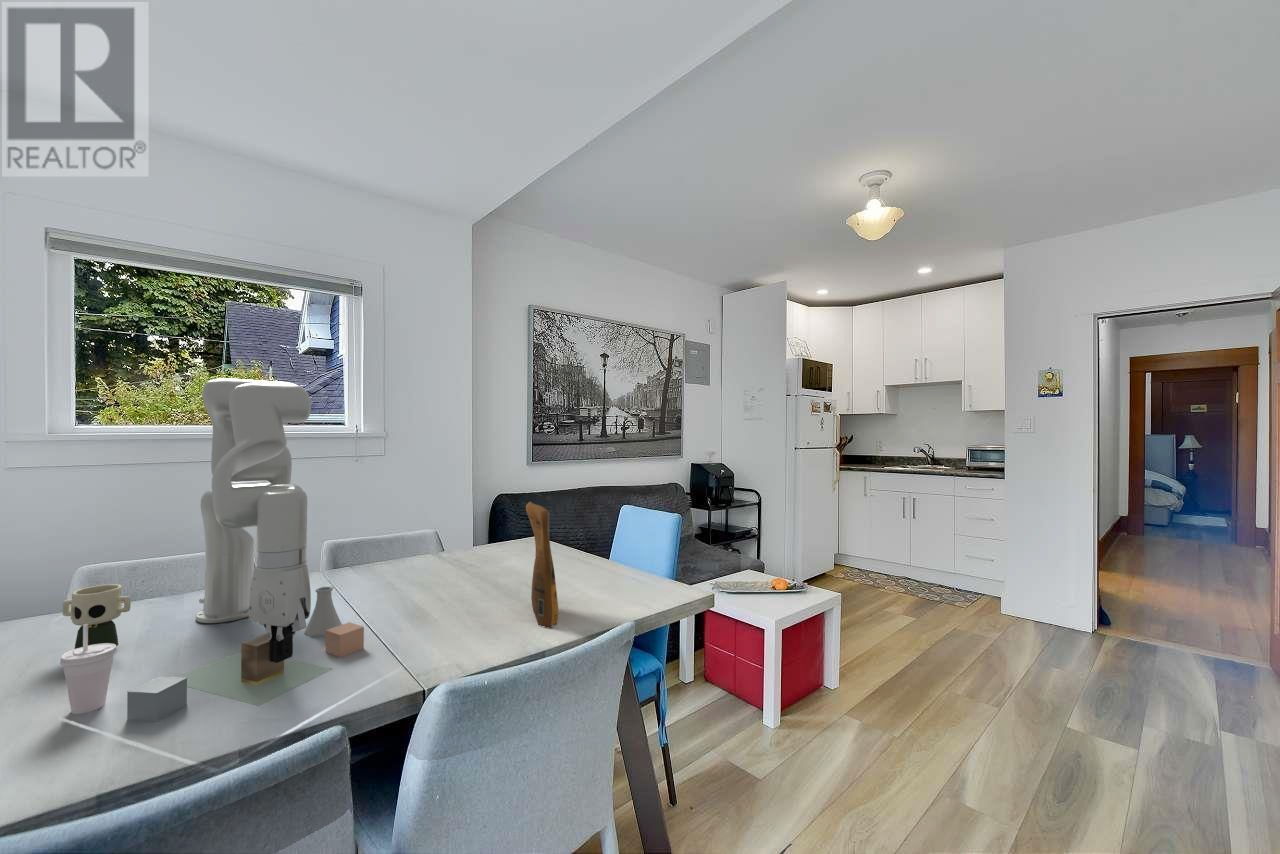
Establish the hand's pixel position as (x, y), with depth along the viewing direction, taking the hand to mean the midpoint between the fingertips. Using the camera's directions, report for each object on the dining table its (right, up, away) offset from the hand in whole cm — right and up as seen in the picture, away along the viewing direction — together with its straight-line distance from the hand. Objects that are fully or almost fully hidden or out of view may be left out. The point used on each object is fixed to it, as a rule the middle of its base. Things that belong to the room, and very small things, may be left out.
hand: (281, 658), depth 95 cm
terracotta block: (+4, -5, +13) cm, 15 cm away
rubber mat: (-7, -4, +2) cm, 9 cm away
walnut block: (-4, -4, +1) cm, 6 cm away
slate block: (-13, -5, -10) cm, 17 cm away
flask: (-6, -5, +23) cm, 25 cm away
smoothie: (-25, -4, -9) cm, 27 cm away
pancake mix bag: (+41, -5, +34) cm, 54 cm away
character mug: (-45, -4, +11) cm, 47 cm away
